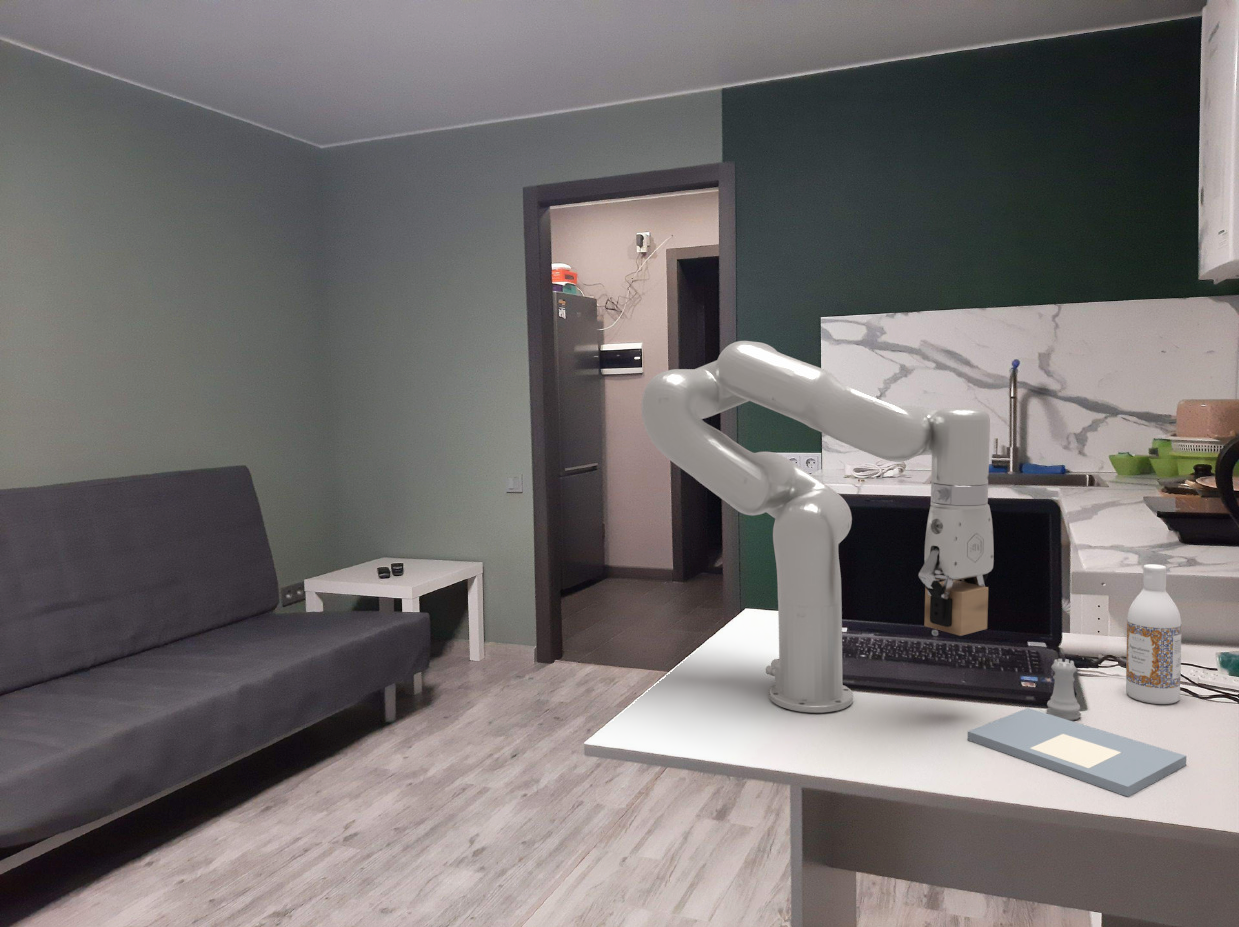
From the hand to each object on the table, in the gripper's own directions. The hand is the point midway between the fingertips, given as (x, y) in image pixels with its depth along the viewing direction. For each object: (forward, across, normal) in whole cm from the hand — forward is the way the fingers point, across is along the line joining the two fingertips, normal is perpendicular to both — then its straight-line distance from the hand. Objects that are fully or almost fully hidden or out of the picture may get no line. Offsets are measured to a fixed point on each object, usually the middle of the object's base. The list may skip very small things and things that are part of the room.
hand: (955, 619), depth 127 cm
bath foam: (+14, +30, -13) cm, 35 cm away
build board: (+14, +2, -17) cm, 22 cm away
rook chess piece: (+14, +12, -9) cm, 21 cm away
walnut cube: (+1, 0, 0) cm, 1 cm away
